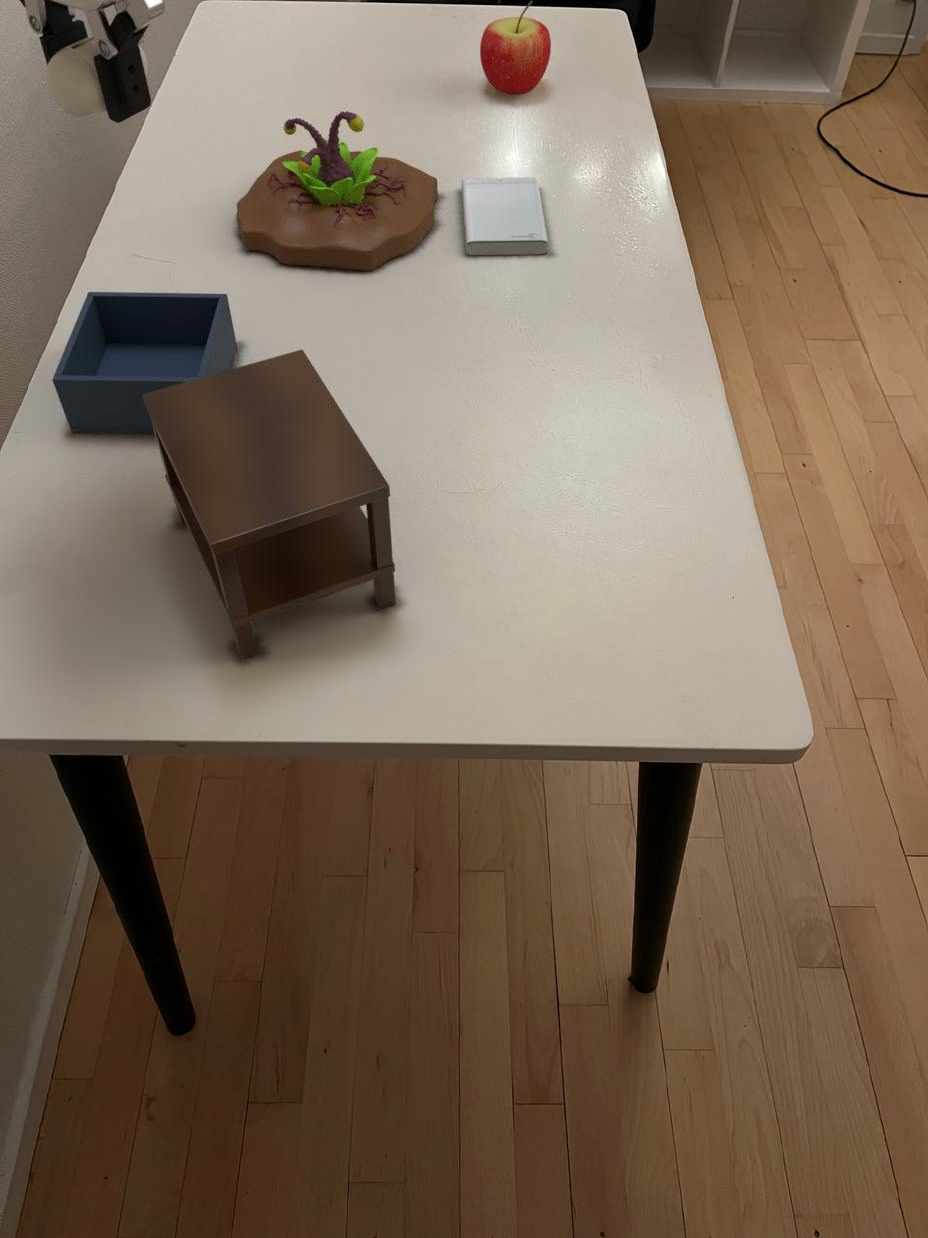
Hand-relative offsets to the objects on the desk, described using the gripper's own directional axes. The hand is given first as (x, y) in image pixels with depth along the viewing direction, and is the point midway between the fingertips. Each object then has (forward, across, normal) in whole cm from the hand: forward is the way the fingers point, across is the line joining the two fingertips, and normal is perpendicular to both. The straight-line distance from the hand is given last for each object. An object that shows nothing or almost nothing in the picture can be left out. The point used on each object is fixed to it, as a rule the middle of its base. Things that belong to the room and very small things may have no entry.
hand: (104, 100), depth 68 cm
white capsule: (0, 0, 0) cm, 0 cm away
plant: (+28, -10, +33) cm, 45 cm away
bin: (+28, -6, +2) cm, 28 cm away
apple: (+28, -11, +68) cm, 75 cm away
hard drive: (+28, +4, +43) cm, 51 cm away
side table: (+28, +16, -7) cm, 33 cm away
